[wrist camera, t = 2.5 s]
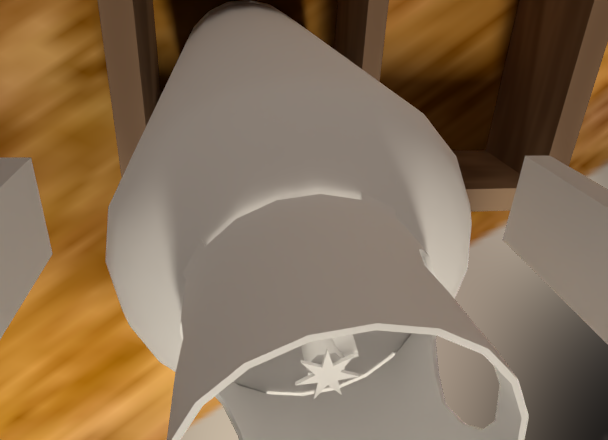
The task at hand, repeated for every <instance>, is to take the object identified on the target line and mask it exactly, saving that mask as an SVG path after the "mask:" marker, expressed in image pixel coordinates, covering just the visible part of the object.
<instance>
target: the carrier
mask: <svg viewBox="0 0 608 440" xmlns="http://www.w3.org/2000/svg"><path fill="white" fill-rule="evenodd" d="M388 3H389V0H338V4H337V18H336V32H335V46H334V49H335V50H336V51H337V52H339V53H340V54H342V55H343V56H344V57H346V58H347V59H348V60H350V61H351V62H353V63H354V64H355V65H357V66H358V67H360V68H361V69H362V70H364V71H365V72H366V73H368V74H369V75H371V76H372V77H373V78H375V79H376V80H378V81H379V82H380V73H381V64H382V56H383V47H384V38H385V29H386V21H387V12H388ZM98 6H99V14H100V21H101V28H102V36H103V43H104V51H105V58H106V65H107V73H108V80H109V87H110V95H111V102H112V110H113V117H114V124H115V132H116V139H117V146H118V154H119V161H120V169H121V176H122V177H123V175H124V172H125V170H126V168H127V166H128V164H129V162H130V159H131V157H132V155H133V153H134V151H135V149H136V147H137V145H138V142H139V140H140V138H141V136H142V134H143V132H144V130H145V128H146V126H147V124H148V121H149V119H150V117H151V115H152V113H153V111H154V109H155V107H156V105H157V103H158V101H159V98H160V96H161V89H160V78H159V67H158V55H157V44H156V33H155V21H154V10H153V0H98ZM607 42H608V0H519V5H518V9H517V13H516V18H515V22H514V27H513V31H512V36H511V40H510V44H509V49H508V53H507V58H506V62H505V66H504V71H503V75H502V80H501V84H500V88H499V93H498V97H497V102H496V106H495V110H494V115H493V119H492V124H491V128H490V133H489V137H488V141H487V146H486V150H452V152H453V153H454V154H455V155H456V157H457V160H458V164H459V167H460V171H461V174H462V178H463V182H464V185H465V189H466V192H467V196H468V199H469V203H470V210H471V211H505V210H511V207H512V203H513V199H514V195H515V192H516V188H517V184H518V181H519V177H520V173H521V169H522V166H523V162H524V158H525V156H551V157H553V158H555V159H557V160H558V161H560V162H562V163H563V164H565V165H567V166H569V163H570V160H571V157H572V154H573V150H574V147H575V144H576V141H577V138H578V134H579V131H580V128H581V125H582V122H583V118H584V115H585V112H586V109H587V106H588V103H589V99H590V96H591V93H592V90H593V87H594V83H595V80H596V77H597V74H598V71H599V67H600V64H601V61H602V58H603V55H604V51H605V48H606V45H607Z"/></svg>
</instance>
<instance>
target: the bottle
mask: <svg viewBox="0 0 608 440" xmlns="http://www.w3.org/2000/svg"><path fill="white" fill-rule="evenodd" d="M470 234H471V210H470V203H469V199H468V196H467V192H466V189H465V185H464V182H463V178H462V174H461V171H460V167H459V164H458V160H457V157H456V155H455V154H454V153H453V152H452V150H451V149H450V148H449V146H448V145H447V144H446V142H445V141H444V140H443V138H442V137H441V136H440V134H439V133H438V132H437V131H436V129H435V128H434V127H433V125H432V124H431V123H430V121H429V120H428V119H427V117H426V116H425V115H424V114H423V113H422V112H421V111H419V110H418V109H416V108H415V107H414V106H412V105H411V104H409V103H408V102H407V101H405V100H404V99H403V98H401V97H400V96H398V95H397V94H396V93H394V92H393V91H391V90H390V89H389V88H387V87H386V86H384V85H383V84H382V83H380V82H379V81H378V80H376V79H375V78H373V77H372V76H371V75H369V74H368V73H366V72H365V71H364V70H362V69H361V68H360V67H358V66H357V65H355V64H354V63H353V62H351V61H350V60H348V59H347V58H346V57H344V56H343V55H342V54H340V53H339V52H337V51H336V50H335V49H333V48H332V47H330V46H329V45H328V44H326V43H325V42H323V41H322V40H321V39H319V38H318V37H317V36H315V35H314V34H312V33H311V32H310V31H308V30H307V29H305V28H304V27H303V26H301V25H300V24H299V23H297V22H296V21H294V20H293V19H291V18H290V17H289V16H287V15H286V14H284V13H283V12H281V11H279V10H278V9H276V8H275V7H273V6H271V5H270V4H266V3H262V2H258V1H253V0H239V1H230V2H226V3H224V4H222V5H220V6H218V7H216V8H214V9H212V10H210V11H208V12H207V13H206V14H205V15H204V16H203V17H202V19H201V20H200V21H199V22H198V23H197V24H196V25H195V26H194V27H193V29H192V31H191V33H190V36H189V38H188V40H187V42H186V44H185V46H184V48H183V50H182V52H181V54H180V56H179V59H178V61H177V63H176V65H175V67H174V69H173V71H172V73H171V75H170V77H169V80H168V82H167V84H166V86H165V88H164V90H163V92H162V94H161V96H160V98H159V101H158V103H157V105H156V107H155V109H154V111H153V113H152V115H151V117H150V119H149V121H148V124H147V126H146V128H145V130H144V132H143V134H142V136H141V138H140V140H139V142H138V145H137V147H136V149H135V151H134V153H133V155H132V157H131V159H130V162H129V164H128V166H127V168H126V170H125V172H124V175H123V177H122V179H121V181H120V183H119V185H118V188H117V190H116V192H115V194H114V196H113V199H112V201H111V203H110V205H109V207H108V225H107V244H106V264H107V267H108V270H109V273H110V276H111V279H112V282H113V284H114V287H115V290H116V293H117V296H118V299H119V302H120V305H121V308H122V310H123V312H124V315H125V317H126V319H127V321H128V323H129V325H130V327H131V328H132V329H133V330H134V331H135V333H136V334H137V335H138V336H139V337H140V339H141V340H142V341H143V342H144V344H145V345H146V346H147V347H148V348H149V350H150V351H151V352H152V353H153V354H154V356H155V357H156V358H157V359H158V361H159V362H161V363H162V364H164V365H165V366H167V367H169V368H170V369H172V370H173V371H175V372H176V373H175V381H174V389H173V396H172V404H171V412H170V420H169V428H168V435H167V440H181V438H182V437H183V435H184V434H185V432H186V431H187V429H188V428H189V426H190V424H191V423H192V421H193V420H194V418H195V417H196V415H197V414H198V412H199V411H200V409H201V408H202V406H203V405H204V404H206V403H207V402H208V401H209V400H211V399H212V398H213V397H214V396H215V397H216V398H217V399H218V400H219V402H220V403H221V404H222V405H223V407H224V409H225V411H226V413H227V415H228V417H229V419H230V421H231V423H232V425H233V427H234V429H235V431H236V433H237V435H238V438H239V440H524V439H525V433H526V428H527V422H528V417H529V415H528V412H527V408H526V405H525V401H524V398H523V394H522V391H521V387H520V384H519V380H518V379H517V377H516V376H515V374H514V373H513V372H512V370H511V369H510V367H509V366H508V365H507V364H506V362H505V361H504V359H503V358H502V356H501V355H500V354H499V352H498V351H497V349H496V348H495V347H494V346H493V345H492V344H491V342H490V341H489V340H488V339H487V338H486V337H485V335H484V334H483V333H482V332H481V331H480V330H479V329H478V328H477V326H476V325H475V324H474V323H473V321H472V320H471V319H470V318H469V317H468V315H467V314H466V313H465V311H464V310H463V309H462V308H461V307H460V305H459V304H458V303H457V302H456V300H455V297H456V295H457V292H458V290H459V288H460V285H461V283H462V280H463V278H464V276H465V274H466V271H467V269H468V259H469V246H470ZM436 335H437V336H439V337H442V338H444V339H447V340H449V341H451V342H454V343H456V344H459V345H461V346H464V347H466V348H469V349H471V350H474V351H476V352H478V353H481V354H483V355H484V356H485V357H486V358H487V359H488V360H489V361H490V362H491V363H492V364H493V365H494V369H495V372H496V375H497V378H498V381H499V384H500V388H499V395H498V402H497V409H496V416H495V421H494V422H492V423H491V424H490V425H488V426H487V427H485V428H484V429H481V428H478V427H475V426H471V425H467V424H465V422H464V421H463V420H462V419H461V418H460V417H459V416H458V415H457V414H456V413H455V412H454V411H453V410H452V409H451V408H450V407H449V406H448V405H447V404H446V401H445V398H444V393H443V389H442V384H441V380H440V376H439V369H438V359H437V349H436Z"/></svg>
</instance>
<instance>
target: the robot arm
mask: <svg viewBox="0 0 608 440" xmlns="http://www.w3.org/2000/svg"><path fill="white" fill-rule="evenodd" d="M503 241H504V242H505V243H506V244H507V245H508V246H509V247H510V248H511V249H512V250H513V251H514V252H515V253H516V254H517V255H518V256H519V257H520V258H521V259H522V260H523V261H524V262H525V263H526V264H527V265H528V266H529V267H530V268H531V269H532V270H533V271H534V272H535V273H536V274H537V275H538V276H539V277H541V279H542V280H543V281H544V282H545V283H546V284H547V285H548V286H549V287H550V288H551V289H552V290H553V291H554V292H556V294H557V295H559V296H560V298H561V299H562V300H563V301H564V302H565V303H567V305H569V306H570V307H571V308H572V309H573V310H574V311H575V312H576V313H577V314H578V315H579V316H580V317H581V318H582V319H583V320H584V321H585V322H586V323H587V324H588V325H589V326H590V327H591V328H592V329H593V330H594V331H595V332H596V333H597V334H598V335H599V336H600V337H601V338H602V339H603V340H604V341H605V342H606V343H607V344H608V189H606V188H604V187H603V186H601V185H599V184H598V183H596V182H594V181H592V180H591V179H589V178H587V177H586V176H584V175H582V174H581V173H579V172H577V171H575V170H574V169H572V168H570V167H569V166H567V165H565V164H563V163H562V162H560V161H558V160H557V159H555V158H553V157H551V156H525V158H524V162H523V166H522V169H521V173H520V177H519V181H518V184H517V188H516V192H515V195H514V199H513V203H512V207H511V210H510V214H509V218H508V222H507V225H506V229H505V233H504V237H503ZM51 256H52V250H51V245H50V241H49V236H48V232H47V227H46V223H45V218H44V214H43V209H42V205H41V200H40V196H39V192H38V187H37V183H36V178H35V174H34V169H33V165H32V160H31V158H0V339H1V337H2V336H3V334H4V332H5V331H6V329H7V327H8V326H9V324H10V322H11V321H12V319H13V318H14V316H15V314H16V313H17V311H18V309H19V308H20V306H21V305H22V303H23V301H24V300H25V298H26V296H27V295H28V293H29V291H30V290H31V288H32V287H33V285H34V283H35V282H36V280H37V278H38V277H39V275H40V273H41V272H42V270H43V269H44V267H45V265H46V264H47V262H48V260H49V259H50V257H51Z"/></svg>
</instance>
